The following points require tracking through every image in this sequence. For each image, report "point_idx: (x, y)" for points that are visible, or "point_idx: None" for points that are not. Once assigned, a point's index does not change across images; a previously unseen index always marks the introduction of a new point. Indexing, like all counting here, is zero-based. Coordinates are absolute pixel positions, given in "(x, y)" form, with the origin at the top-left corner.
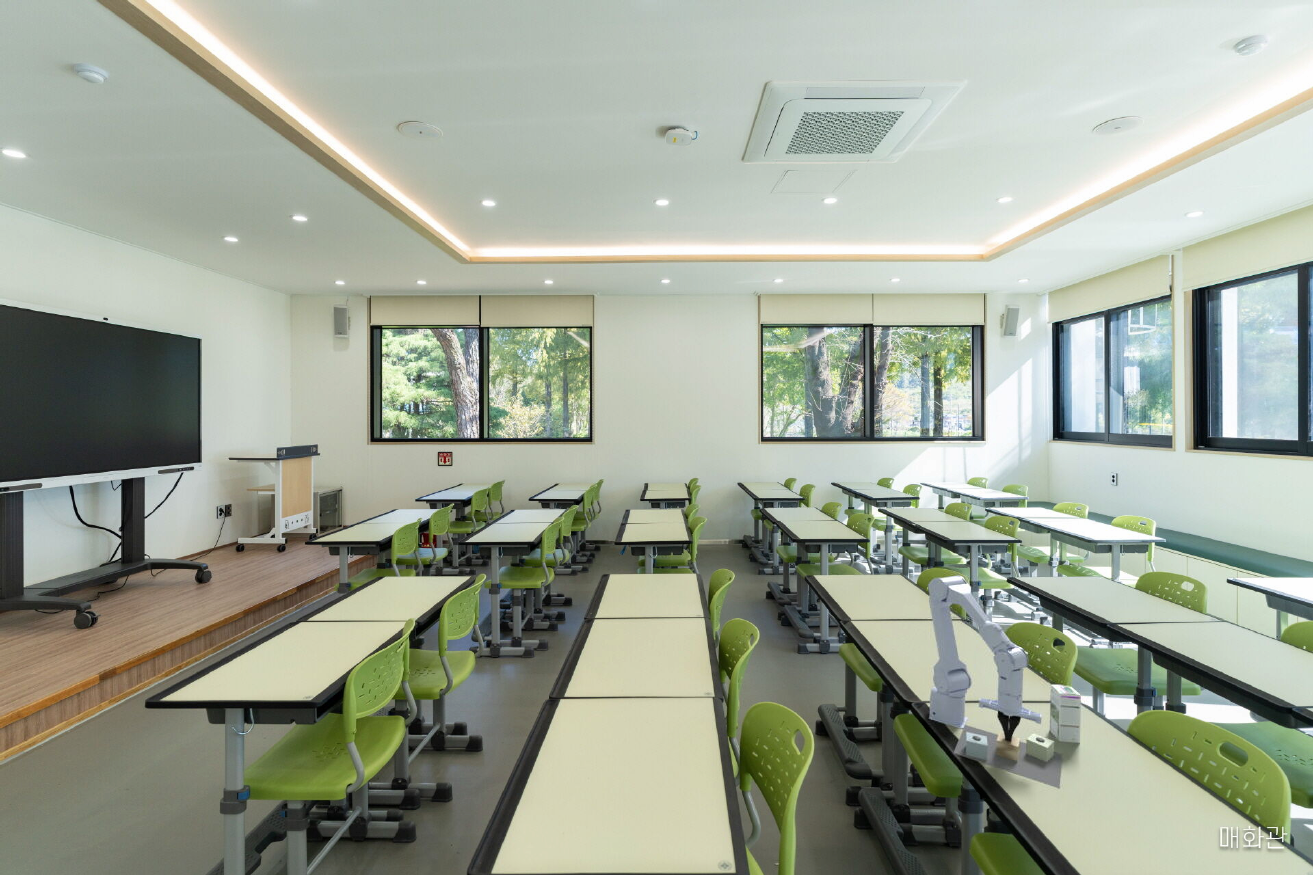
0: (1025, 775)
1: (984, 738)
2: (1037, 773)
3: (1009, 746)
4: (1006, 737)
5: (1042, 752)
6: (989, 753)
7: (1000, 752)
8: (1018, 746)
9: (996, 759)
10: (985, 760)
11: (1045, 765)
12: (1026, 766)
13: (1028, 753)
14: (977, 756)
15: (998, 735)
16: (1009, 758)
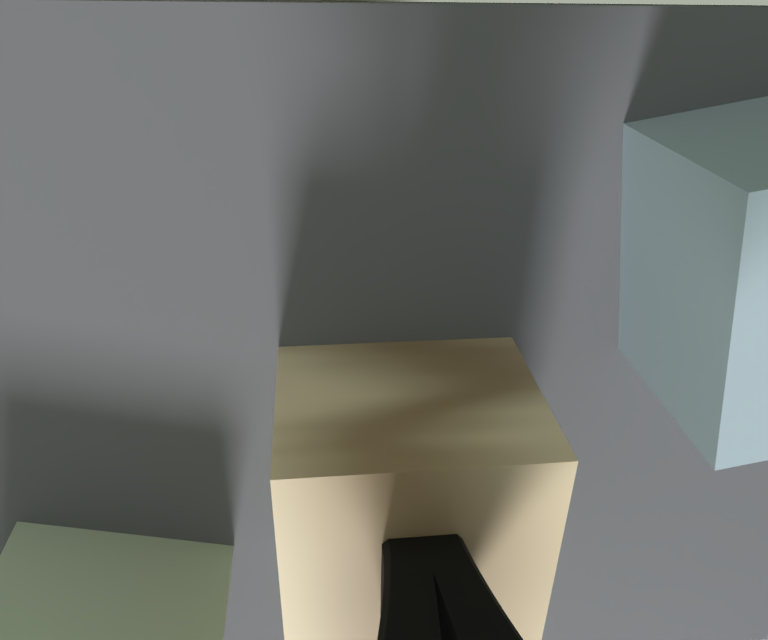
0: (118, 47)
1: (756, 398)
2: (8, 217)
3: (391, 445)
4: (457, 570)
5: (34, 603)
6: (586, 305)
7: (477, 362)
8: (274, 506)
9: (509, 221)
10: (644, 100)
11: (3, 453)
12: (166, 297)
13: (208, 549)
14: (756, 101)
15: (548, 585)
16: (368, 343)
